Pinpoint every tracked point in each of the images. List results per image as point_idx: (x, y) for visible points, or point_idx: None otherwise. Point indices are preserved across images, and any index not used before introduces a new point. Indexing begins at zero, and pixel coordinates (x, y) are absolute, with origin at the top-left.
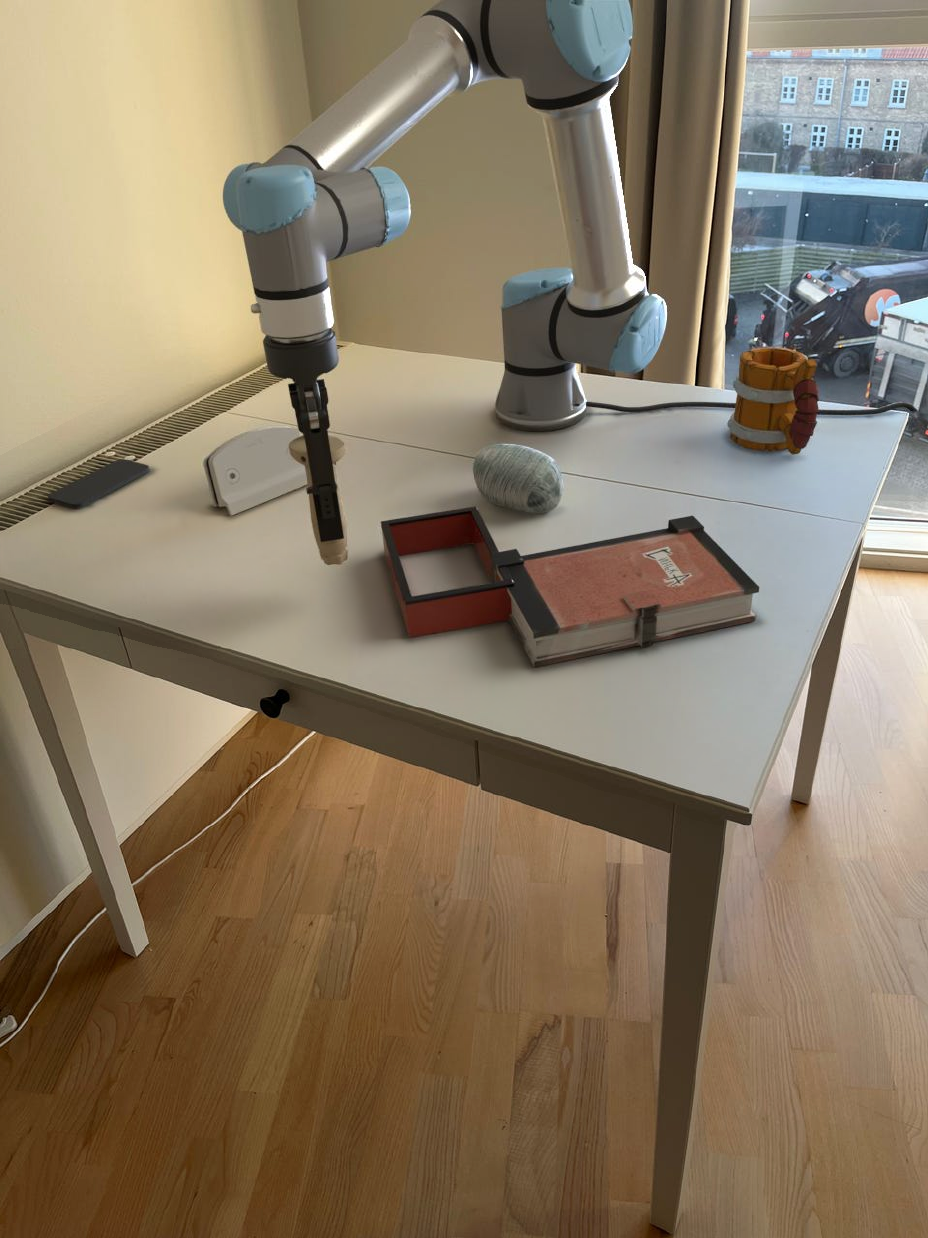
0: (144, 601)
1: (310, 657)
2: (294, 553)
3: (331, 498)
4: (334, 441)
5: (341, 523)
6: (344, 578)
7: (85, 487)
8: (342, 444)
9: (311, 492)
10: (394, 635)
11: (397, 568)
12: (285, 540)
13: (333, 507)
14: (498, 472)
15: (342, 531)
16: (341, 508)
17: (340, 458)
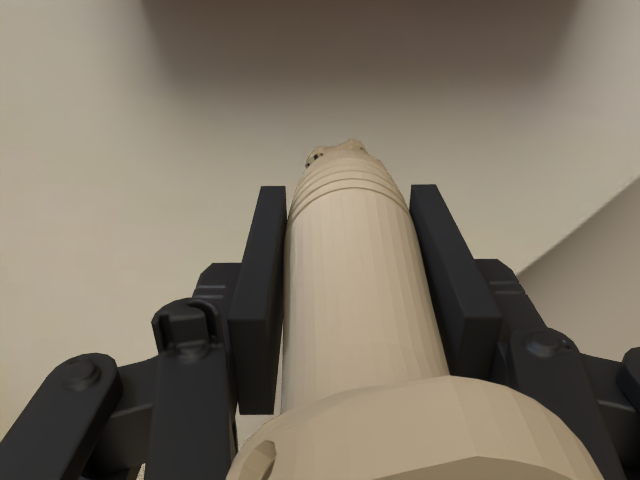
0: (238, 451)
1: (541, 214)
2: (96, 222)
3: (540, 324)
4: None
5: (450, 214)
6: (241, 114)
7: None
8: (511, 468)
9: None
10: (556, 16)
11: None
12: (29, 238)
13: (524, 291)
14: None
15: (441, 198)
16: (392, 221)
17: (549, 410)
